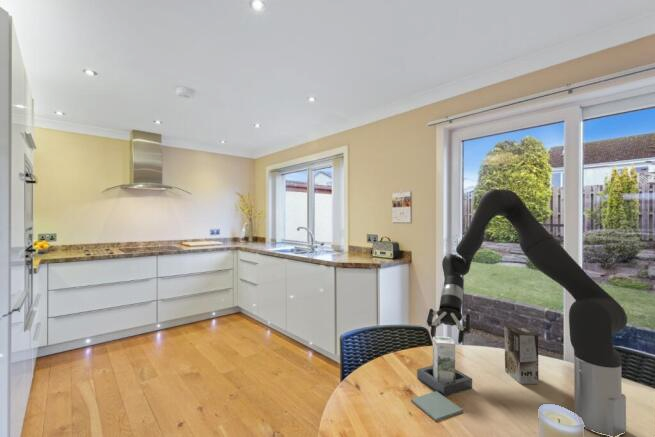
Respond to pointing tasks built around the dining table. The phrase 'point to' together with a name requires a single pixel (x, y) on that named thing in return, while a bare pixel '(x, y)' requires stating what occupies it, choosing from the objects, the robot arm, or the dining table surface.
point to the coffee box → (521, 354)
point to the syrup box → (443, 359)
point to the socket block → (444, 389)
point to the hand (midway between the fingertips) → (446, 340)
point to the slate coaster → (436, 405)
